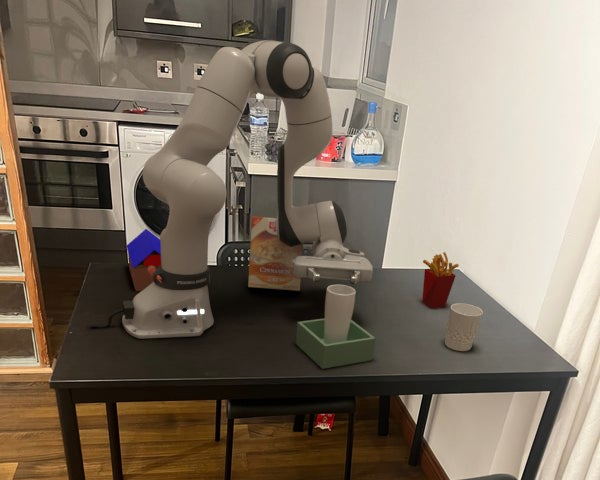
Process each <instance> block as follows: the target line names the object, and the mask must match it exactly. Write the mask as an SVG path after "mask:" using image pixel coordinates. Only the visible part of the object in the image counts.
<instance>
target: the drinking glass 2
mask: <svg viewBox="0 0 600 480" xmlns="http://www.w3.org/2000/svg"><path fill="white" fill-rule="evenodd" d="M356 293H357V291H356V289H355V288H354V287H352V286H349V285H345V284H330V285H328V286H327V287H326V293H325V300H324V318H323V319H324V343H325V344H332V343H338V342H344V341H346V340H347V336H348V331H349V327H350V323H351V320H352V317H353V314H354V308H355V304H356V303H355V302H356V296H357V295H356Z"/></svg>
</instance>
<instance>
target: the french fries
mask: <svg viewBox="0 0 600 480" xmlns="http://www.w3.org/2000/svg"><path fill="white" fill-rule="evenodd" d="M444 259H445V260H444ZM422 263H423V264H425V265H426V266H427V267H428V268H425V269H424V274H423V288H422V297H421V298H422V299H421V302H422V303H423V304H424V305H425V306H427V307H429V308H430V309H438V308H446V306H447V305H446V304H447V302H448V299H449V296H450V293H451V290H452V289H453V288H452V287H453V285H454V281H455V279H456V274H455V273H453V271H454V269H456V268H458V267H460V264H459V263H455V264H453V262H449V259H448V255H447V253H446V252H445V251H443V252H442V253H440V254H437V253H436V254H435V255H434V256H433V258H432V261H431V262H429V260H426V259H423V261H422Z"/></svg>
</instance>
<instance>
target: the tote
mask: <svg viewBox="0 0 600 480" xmlns="http://www.w3.org/2000/svg"><path fill="white" fill-rule="evenodd" d="M376 339H377V338H376V337H375V336H374V335H372V334H371V333H369V332H368V331H367V330H366V329H364V327H362V326H360V325H359V324H358V323H357V322H355V321H354V320H352V319H351V323H350V327H349V331H348V336H347V340H346V341H344V342H338V343H332V344H325V343H324V318H317V319H311V320H302V321H297V324H296V335H295V345H296V346H297V347H299V348H300V349H301V350H302V352H304V353H305V354H306V355H307V356H308V357H309V358H310V359H311V360H312V361H313V362H314V363H315V364H317V366H319V368H321V369H322V370H324V369H330V368H335V367H341V366H347V365H352V364H359V363H365V362H370V361H373V357H374V351H375V346H376Z"/></svg>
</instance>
